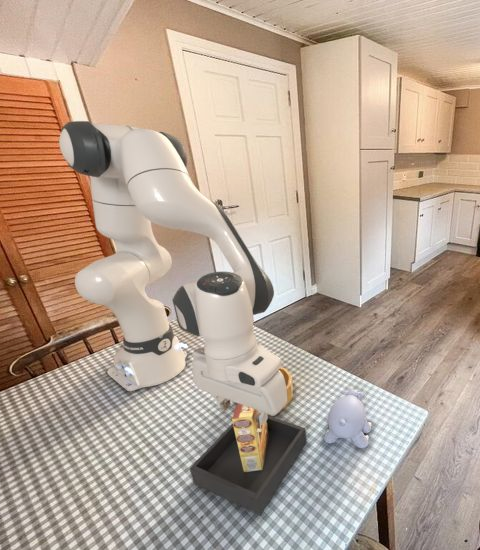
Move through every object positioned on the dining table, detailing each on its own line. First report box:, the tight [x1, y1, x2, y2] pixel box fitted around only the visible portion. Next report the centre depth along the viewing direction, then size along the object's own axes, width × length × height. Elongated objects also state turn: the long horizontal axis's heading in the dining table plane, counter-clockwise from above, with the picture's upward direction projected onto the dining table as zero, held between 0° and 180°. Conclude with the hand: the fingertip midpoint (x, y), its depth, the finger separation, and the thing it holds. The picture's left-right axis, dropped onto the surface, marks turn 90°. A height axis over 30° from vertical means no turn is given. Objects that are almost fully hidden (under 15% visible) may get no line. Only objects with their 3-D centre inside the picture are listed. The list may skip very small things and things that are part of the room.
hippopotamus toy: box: [323, 388, 373, 449], centre depth 74 cm, size 11×15×10 cm
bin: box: [189, 415, 307, 517], centre depth 66 cm, size 17×17×5 cm
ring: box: [267, 366, 294, 417], centre depth 84 cm, size 15×15×5 cm
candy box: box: [231, 403, 269, 472], centre depth 65 cm, size 9×4×15 cm, turn 9°
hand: (243, 414), depth 61 cm, fingers open, 8 cm apart
